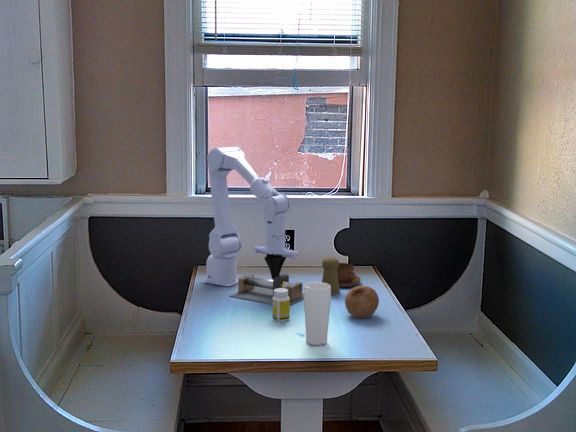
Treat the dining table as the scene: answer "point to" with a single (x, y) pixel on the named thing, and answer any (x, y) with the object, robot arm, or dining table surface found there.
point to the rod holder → (269, 286)
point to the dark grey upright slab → (279, 281)
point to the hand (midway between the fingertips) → (275, 278)
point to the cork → (331, 274)
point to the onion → (361, 301)
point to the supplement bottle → (280, 305)
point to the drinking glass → (317, 312)
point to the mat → (259, 295)
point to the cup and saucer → (347, 275)
